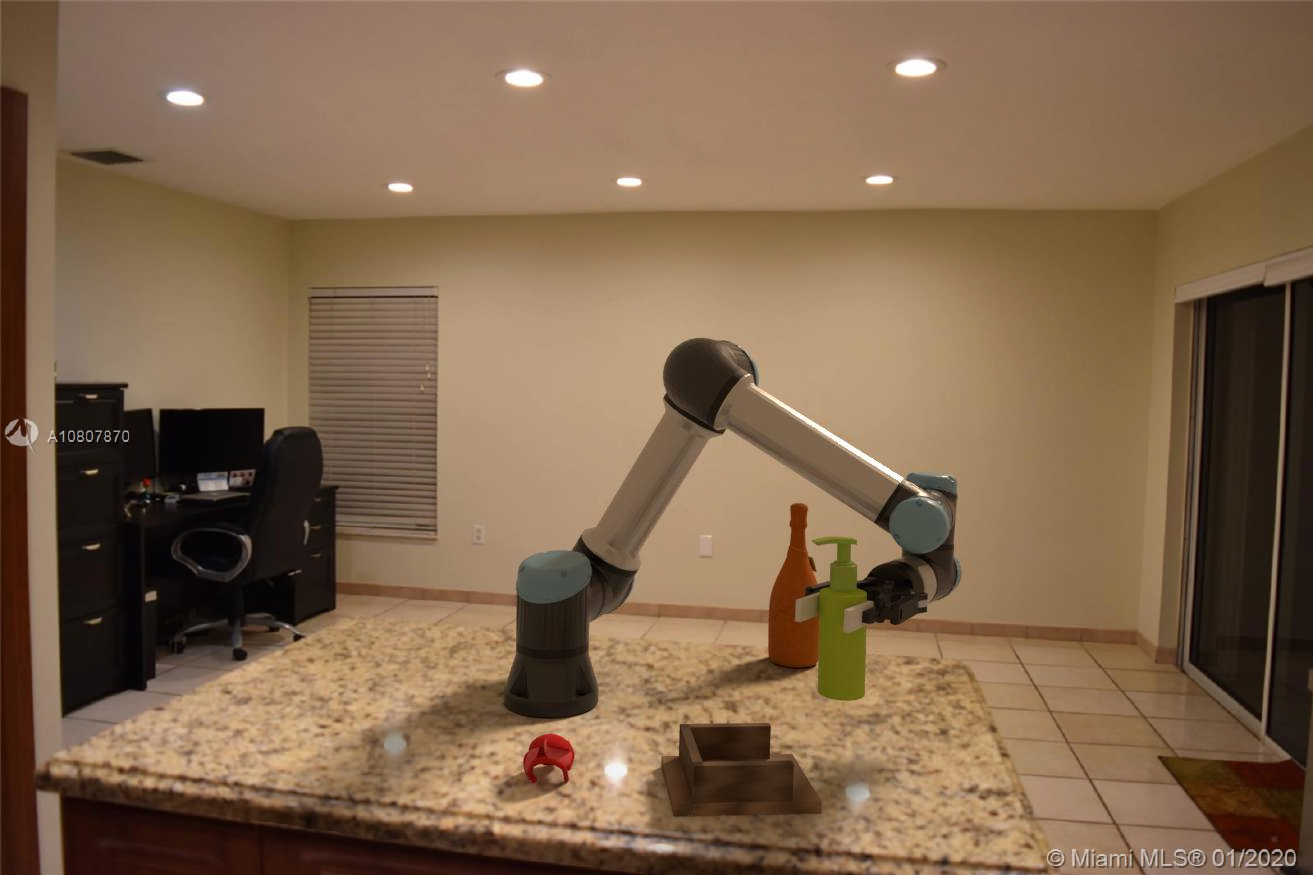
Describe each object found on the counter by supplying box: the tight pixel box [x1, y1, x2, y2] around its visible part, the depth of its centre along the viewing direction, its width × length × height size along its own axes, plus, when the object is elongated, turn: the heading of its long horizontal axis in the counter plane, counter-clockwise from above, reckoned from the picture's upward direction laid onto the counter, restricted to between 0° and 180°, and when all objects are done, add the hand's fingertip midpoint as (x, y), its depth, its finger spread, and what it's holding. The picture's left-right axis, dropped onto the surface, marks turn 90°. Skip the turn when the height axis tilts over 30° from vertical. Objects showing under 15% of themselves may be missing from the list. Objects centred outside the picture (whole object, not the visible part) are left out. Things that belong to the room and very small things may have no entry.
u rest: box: [660, 722, 822, 818], centre depth 116 cm, size 18×14×6 cm
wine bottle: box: [767, 502, 819, 669], centre depth 169 cm, size 10×10×30 cm
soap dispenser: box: [811, 535, 867, 702], centre depth 115 cm, size 6×7×20 cm
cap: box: [522, 733, 576, 784], centre depth 118 cm, size 8×6×6 cm
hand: (822, 616), depth 111 cm, fingers closed on soap dispenser, 6 cm apart
